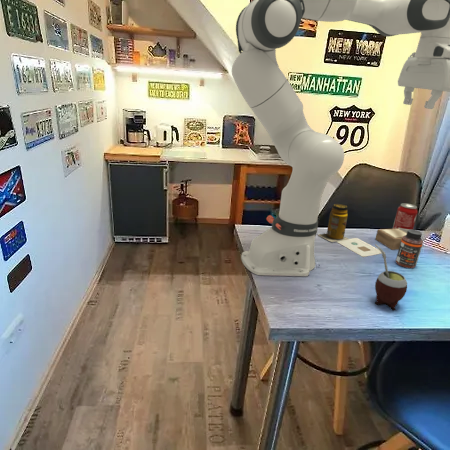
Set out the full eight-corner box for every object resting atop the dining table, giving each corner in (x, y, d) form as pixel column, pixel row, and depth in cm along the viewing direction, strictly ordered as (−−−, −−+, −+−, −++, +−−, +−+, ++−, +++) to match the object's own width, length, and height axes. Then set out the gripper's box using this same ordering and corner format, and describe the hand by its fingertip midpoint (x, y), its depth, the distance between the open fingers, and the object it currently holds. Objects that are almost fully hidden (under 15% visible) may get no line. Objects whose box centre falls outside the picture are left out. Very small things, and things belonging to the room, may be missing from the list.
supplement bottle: (395, 266, 109) (404, 232, 105) (394, 258, 114) (402, 226, 110) (417, 270, 107) (427, 236, 103) (414, 262, 112) (423, 230, 108)
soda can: (408, 240, 130) (417, 209, 126) (389, 235, 134) (397, 205, 130) (412, 235, 136) (420, 205, 131) (393, 230, 139) (401, 201, 135)
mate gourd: (407, 310, 86) (423, 255, 81) (379, 313, 85) (394, 256, 79) (388, 294, 93) (402, 242, 88) (361, 296, 91) (374, 243, 86)
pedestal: (392, 249, 121) (394, 238, 119) (375, 239, 129) (377, 228, 128) (413, 248, 123) (416, 237, 122) (395, 238, 131) (398, 227, 130)
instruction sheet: (362, 257, 114) (363, 256, 114) (335, 241, 125) (335, 240, 125) (385, 253, 118) (385, 252, 118) (356, 238, 129) (356, 237, 129)
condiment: (348, 239, 127) (354, 207, 123) (331, 242, 123) (337, 209, 119) (334, 232, 133) (339, 202, 129) (317, 235, 129) (321, 204, 125)
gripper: (400, 51, 101) (386, 101, 107) (451, 49, 83) (431, 110, 89) (419, 53, 102) (404, 103, 108) (474, 52, 84) (453, 112, 90)
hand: (417, 106), depth 98 cm, fingers open, 8 cm apart
